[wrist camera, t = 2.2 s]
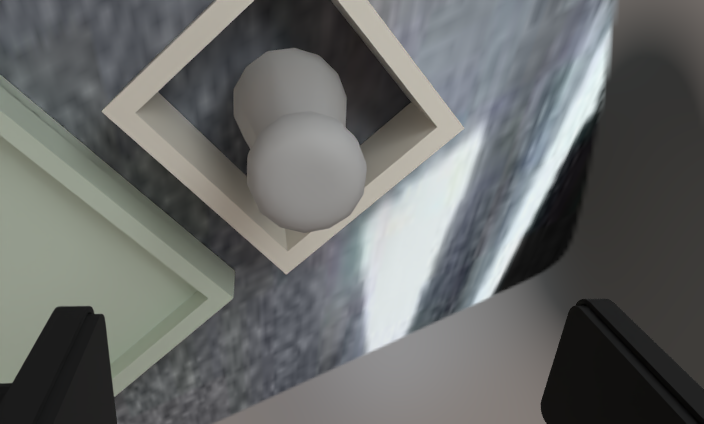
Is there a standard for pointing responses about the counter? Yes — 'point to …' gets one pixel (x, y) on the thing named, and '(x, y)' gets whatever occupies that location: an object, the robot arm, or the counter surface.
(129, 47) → the counter surface
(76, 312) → the robot arm
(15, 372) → the tray
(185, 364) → the counter surface
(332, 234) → the square frame
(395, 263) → the counter surface
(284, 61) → the salt shaker
